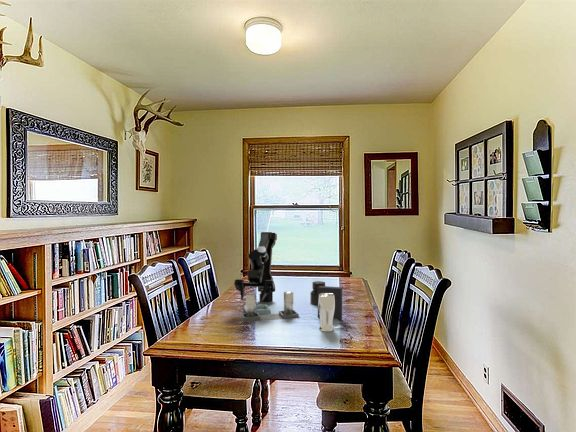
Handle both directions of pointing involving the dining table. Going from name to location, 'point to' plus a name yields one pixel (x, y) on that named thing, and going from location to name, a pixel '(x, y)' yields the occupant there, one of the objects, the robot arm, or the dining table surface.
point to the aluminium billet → (250, 305)
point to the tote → (261, 310)
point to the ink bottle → (315, 292)
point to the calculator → (338, 299)
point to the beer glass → (326, 311)
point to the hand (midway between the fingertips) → (251, 300)
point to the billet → (288, 302)
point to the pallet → (269, 316)
